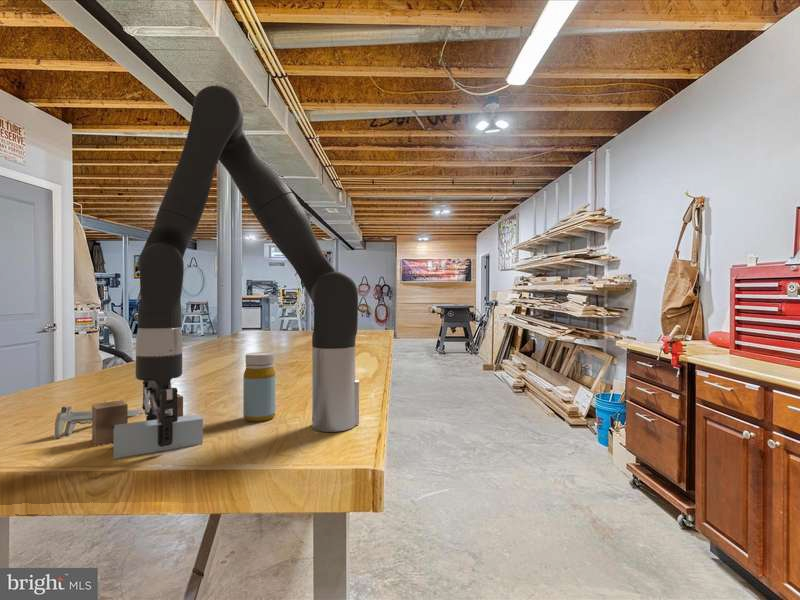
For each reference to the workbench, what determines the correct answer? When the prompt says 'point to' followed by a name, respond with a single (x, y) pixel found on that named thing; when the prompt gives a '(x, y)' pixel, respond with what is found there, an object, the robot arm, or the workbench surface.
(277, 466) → the workbench surface
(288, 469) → the workbench surface
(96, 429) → the pillar
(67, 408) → the caliper
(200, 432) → the lintel
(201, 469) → the workbench surface
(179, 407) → the pillar
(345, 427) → the robot arm
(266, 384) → the bottle
